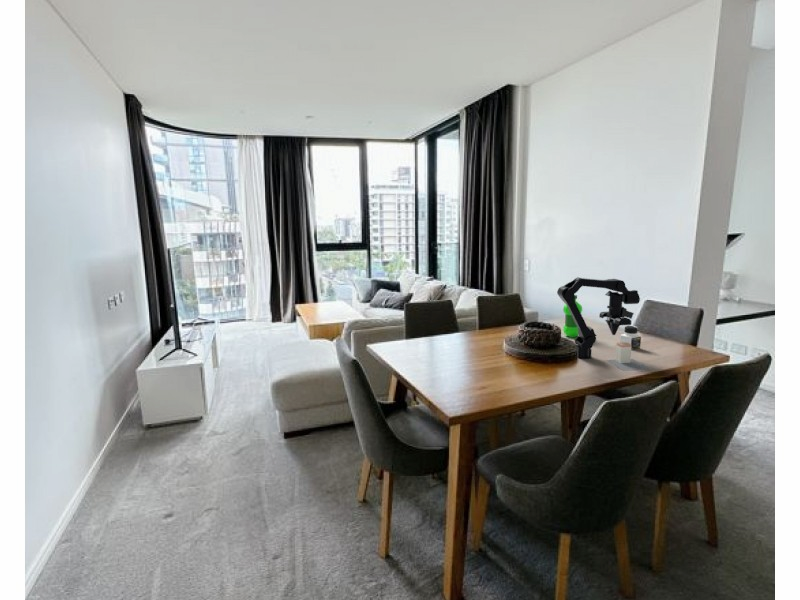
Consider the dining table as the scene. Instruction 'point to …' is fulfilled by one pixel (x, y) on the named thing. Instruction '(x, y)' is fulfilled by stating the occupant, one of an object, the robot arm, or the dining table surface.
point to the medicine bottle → (631, 337)
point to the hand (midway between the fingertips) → (613, 334)
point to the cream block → (623, 352)
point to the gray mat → (629, 365)
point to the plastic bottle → (571, 321)
